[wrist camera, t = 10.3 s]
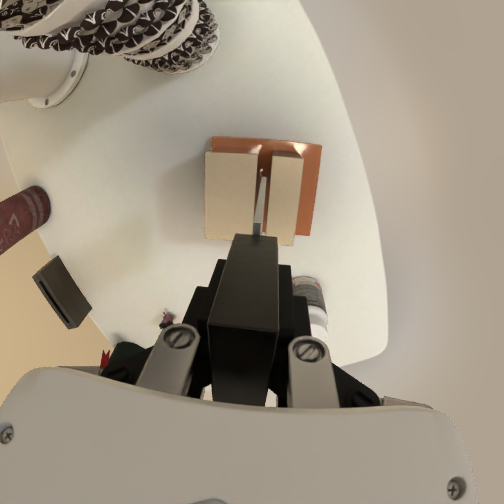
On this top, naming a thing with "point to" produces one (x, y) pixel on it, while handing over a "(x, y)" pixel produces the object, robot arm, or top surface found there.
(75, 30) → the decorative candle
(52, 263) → the knife block
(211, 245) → the top surface
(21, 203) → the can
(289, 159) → the slice
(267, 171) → the slotted block stand
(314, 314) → the pill bottle
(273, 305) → the knife
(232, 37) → the top surface
